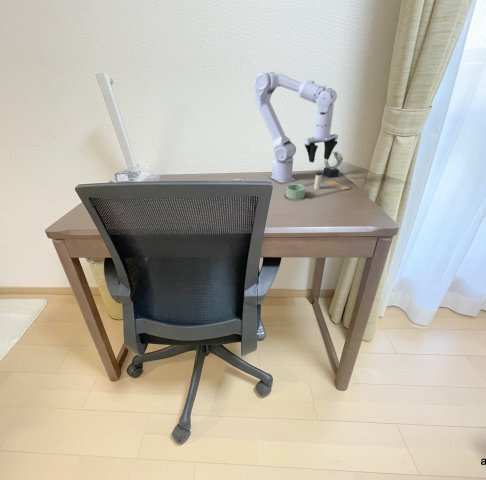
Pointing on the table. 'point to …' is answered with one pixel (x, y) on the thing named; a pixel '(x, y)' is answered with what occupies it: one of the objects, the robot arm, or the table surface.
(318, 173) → the marker
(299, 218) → the table surface
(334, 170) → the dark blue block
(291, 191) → the pen pot
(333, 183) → the cork mat
